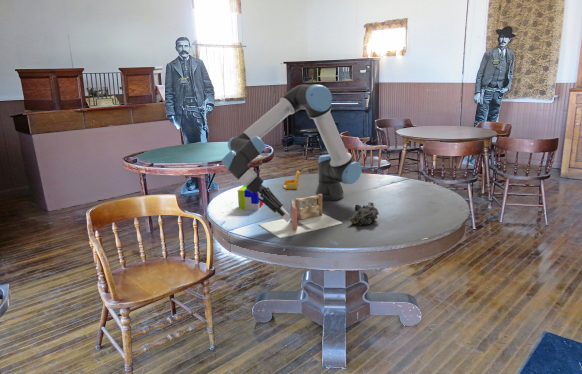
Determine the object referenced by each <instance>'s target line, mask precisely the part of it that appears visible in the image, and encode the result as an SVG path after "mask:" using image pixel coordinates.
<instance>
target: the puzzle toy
mask: <svg viewBox="0 0 582 374" xmlns="http://www.w3.org/2000/svg"><path fill="white" fill-rule="evenodd" d="M246 187H247V186H244V185H242V186H241V187H240V188H239V189H238V190H237V199H238V210H240V211H241V210H245V211H250V210H251V211H259V210H260V209H259V208H262V206H263V205H264V203H263V202H262V201H260V200H259V199H258V197H259V196H258V195H257V194H256V193H255V191H254V192H253V193H251V192H250V191H249V190H248V189H247V188H246Z"/></svg>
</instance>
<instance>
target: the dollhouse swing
mask: <svg viewBox="0 0 582 374" xmlns="http://www.w3.org/2000/svg"><path fill="white" fill-rule="evenodd" d="M299 179H300V171H299V170H296V172H295V175H294V179H285V180H284V183H283V184H282V186H283V189H284V188H285V189H284V190H296V189H298V186H299Z"/></svg>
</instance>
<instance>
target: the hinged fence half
mask: <svg viewBox="0 0 582 374" xmlns="http://www.w3.org/2000/svg"><path fill="white" fill-rule="evenodd" d="M290 215H291V216H292V218H291V220H292V224H293V230H297V208H296V207H295V199H291V200H290Z"/></svg>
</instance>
